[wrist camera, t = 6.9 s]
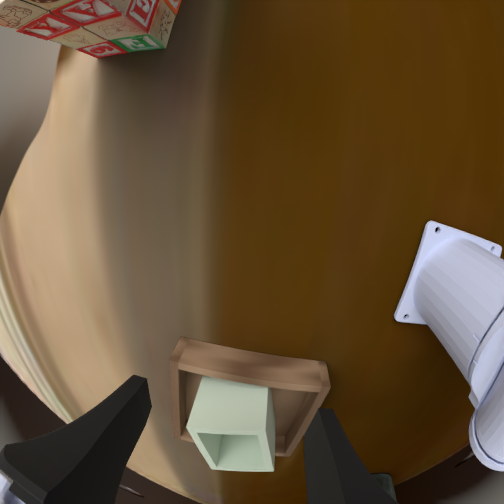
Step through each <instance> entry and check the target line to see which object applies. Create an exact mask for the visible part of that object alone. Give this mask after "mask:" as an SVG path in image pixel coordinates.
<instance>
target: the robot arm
mask: <svg viewBox="0 0 504 504" xmlns="http://www.w3.org/2000/svg"><path fill="white" fill-rule="evenodd" d="M437 227H438V230H437V232H436V233H435V229H436V228H437ZM491 248H492V249H491ZM501 251H502V248H501V246H500V245H498V244H495V243H493V242H490V241H488V240H485V239H483V238H480V237H477V236H475V235H472V234H469V233H466V232H464V231H461V230H458V229H455V228H452V227H449V226H446V225H443V224H440V223H437V222H434V221H429V222H428V223H427V224H426V226H425V229H424V233H423V236H422V239H421V243H420V246H419V249H418V252H417V255H416V258H415V261H414V264H413V267H412V270H411V273H410V276H409V278H408V281H407V284H406V286H405V289H404V292H403V294H402V297H401V299H400V302H399V304H398V306H397V309H396V311H395V314H394V318H395V319H396V321H398V322H407V323H417V324H427V325H428V326H429V327H430V329H431V330H432V331H433V333H434V334H435V335H436V337H437V338H438V339H439V341H440V342H441V344H442V345H443V346H444V348H445V349H446V351H447V352H448V353H449V355H450V356H451V358H452V359H453V361H454V362H455V364H456V365H457V367H458V368H459V370H460V371H461V373H462V374H463V376H464V377H465V379H466V380H467V382H468V383H469V385H470V387H471V392H470V395H469V399H470V401H471V402H472V404H473V406H474V408H475V411H474V412H473V415H472V417H471V421H470V425H469V440H470V444H471V447H472V450H473V452H474V454H475V455H476V457H477V458H478V459H479V461H480V462H481V463H482V464H484V465H485V466H487V467H489V468H491V469H493V470H497V471H504V260H503V259H501V258H500V255H501ZM406 314H407V315H406ZM404 315H406V316H405V317H404ZM151 407H152V405H151V399H150V394H149V389H148V383H147V379H146V378H143V377H140V376H137V375H132V376H131V377H130V378H129V379H128V380H127V381H126V382H125V383H123V384H122V385H121V386H120V387H119V388H118V389H117V390H115V391H114V392H113V393H112V394H111V395H109V396H108V397H107V398H106V399H104V400H103V401H102V402H101V403H99V404H98V405H97V406H96V407H94V408H93V409H91V410H90V411H88V412H87V413H86V414H84V415H83V416H81V417H79V418H78V419H76V420H75V421H73V422H71V423H69V424H67V425H66V426H64V427H62V428H59V429H57V430H55V431H53V432H51V433H49V434H46V435H43V436H40V437H37V438H34V439H31V440H27V441H23V442H18V443H13V444H7V445H6V446H4V448H3V449H2V451H1V452H0V469H1V470H2V471H3V472H4V473H5V474H6V475H8V477H10V478H11V479H12V480H13V482H12V481H10V480H9V479H7V478H6V477H5V476H4V475H3V474H2V473H0V504H114V503H115V498H116V495H117V491H118V488H119V485H120V481H121V478H122V475H123V472H124V469H125V467H126V464H127V462H128V460H129V458H130V456H131V454H132V452H133V450H134V448H135V445H136V443H137V441H138V439H139V437H140V435H141V433H142V431H143V429H144V427H145V425H146V422H147V419H148V417H149V413H150V410H151ZM304 460H305V472H306V485H307V504H399V503H397V501H395V500H394V499H393V498H392V497H391V496H390V495H389V494H388V493H387V492H386V491H385V490H384V489H383V488H382V487H381V486H380V485H379V484H378V483H377V481H376V480H375V479H374V478H373V476H372V475H371V474H370V473H369V471H368V470H367V469H366V467H365V466H364V464H363V463H362V461H361V460H360V458H359V457H358V455H357V454H356V452H355V450H354V449H353V447H352V445H351V444H350V442H349V440H348V438H347V436H346V435H345V433H344V431H343V429H342V427H341V425H340V423H339V421H338V419H337V417H336V415H335V413H334V411H333V409H324V408H318V410H317V412H316V414H315V415H314V417H313V419H312V421H311V423H310V425H309V427H308V428H307V430H306V432H305V441H304Z"/></svg>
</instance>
